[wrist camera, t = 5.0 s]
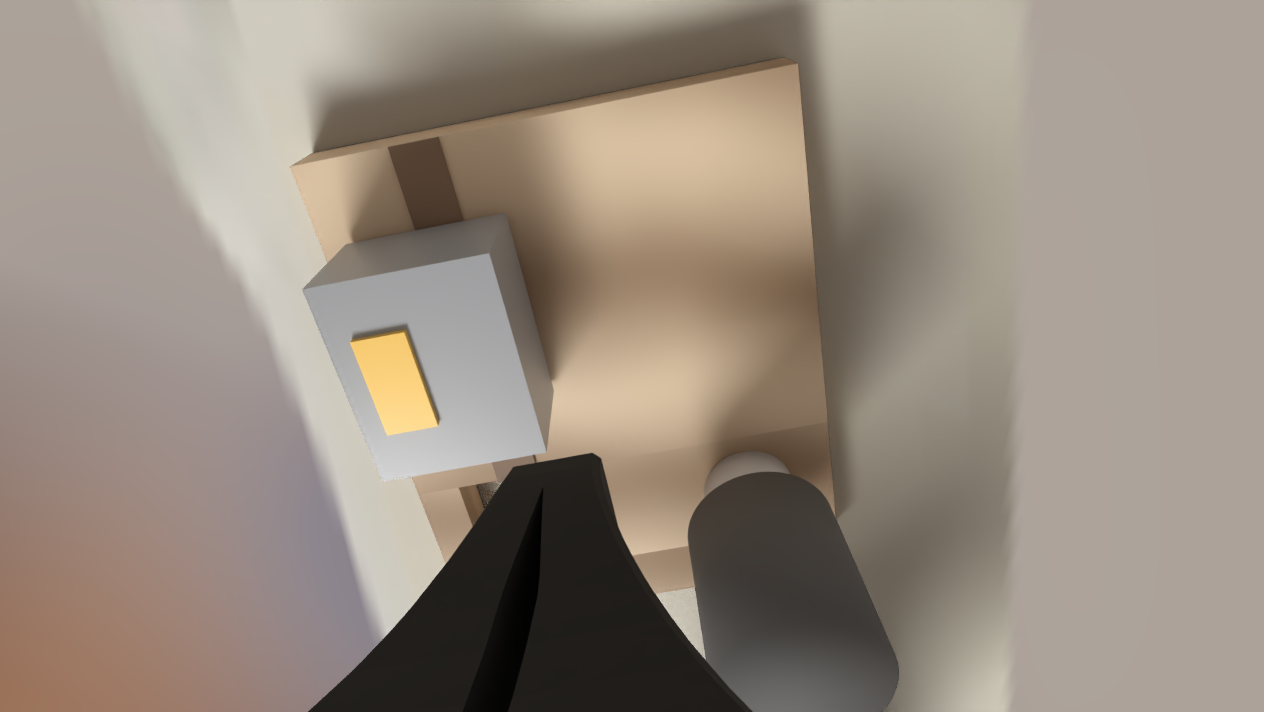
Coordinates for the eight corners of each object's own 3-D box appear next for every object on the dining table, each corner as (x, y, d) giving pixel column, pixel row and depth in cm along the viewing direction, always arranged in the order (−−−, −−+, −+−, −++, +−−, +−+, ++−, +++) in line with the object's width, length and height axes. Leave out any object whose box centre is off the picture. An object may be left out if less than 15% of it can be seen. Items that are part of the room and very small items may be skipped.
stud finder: (553, 390, 20) (546, 455, 18) (410, 416, 21) (380, 485, 18) (505, 212, 18) (487, 255, 15) (346, 243, 18) (299, 291, 16)
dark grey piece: (820, 528, 23) (901, 732, 17) (691, 550, 23) (724, 760, 17) (809, 419, 21) (896, 602, 15) (670, 444, 22) (698, 634, 15)
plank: (826, 531, 25) (840, 564, 24) (476, 591, 26) (469, 626, 24) (783, 57, 18) (799, 63, 17) (311, 153, 19) (288, 167, 18)
